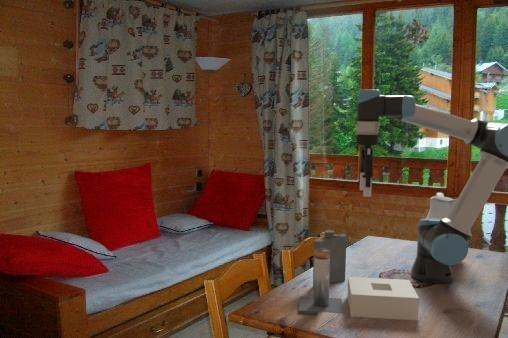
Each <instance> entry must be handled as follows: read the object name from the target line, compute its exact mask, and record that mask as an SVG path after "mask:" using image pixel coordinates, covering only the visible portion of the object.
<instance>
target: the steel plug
mask: <svg viewBox="0 0 508 338" xmlns="http://www.w3.org/2000/svg"><path fill="white" fill-rule="evenodd" d="M313 263H314V288H313V297H314V298H313V304H314V305H315V306H317V307H327V306H329V298H330V284H329V278H330V249H327V248H316V249H315V250H314V249H313Z"/></svg>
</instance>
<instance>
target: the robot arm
mask: <svg viewBox="0 0 508 338" xmlns="http://www.w3.org/2000/svg"><path fill="white" fill-rule="evenodd" d="M357 94H358V95H357V101H356V104H357V106H356V108H357V109H356V114H357V115H356V124H354V127H355V128H356V133H357V134H356V137H355V138H356V139H355V142H356V143H355V144H356V145H357V146H361V147H360V161H359V171H360V173H359V191H362V197H364V198H365V197H369V198H370V197H372V189H373V187H372V184H373V176H374V173H373V172H374V170H373V169H374V168H373V164H374V163H373V156H374V150H373V148H372V146H377V145H378V144H379V135H378V134H379V130H380V129H379V128H380V117H381V118H384V117H385V118H391V119H394V120H397V121H401V122H403V123H404V122H405V123H408V124H410V125H414V126H418V127H420V128H424V129H427V130H431V131H434V132H437V133H440V134H444V135H447V136H450V137H453V138H457V139H460V140H463V142H464V143H465V144H466V145H470V146H472V147H475V148H478V149H480V150H479V154H480V159H479V161H478V163H477V165H476V167H475V168H474V170H473V171H472V173H471V175H470V177H469V179H468V180H467V182H466V184H465V185H464V187H463V189H462V191H461V192H460V194H459V195H458V196H457V198H456V199H457V201H456V202H455V204H454V206H453V208H452V209H451V211H450V213H449V215H448V216H447V217H446V218H442V219H433V218H420V219H419V220H418V225H417V246H416V257H415V260H414V262H413V264H412V266H411V270H410V272H411V273H410V276H411V277H412V278H413V279H415V280H417V281H420V282H424V283H430V284H447V283H451V282H452V281H453V277H454V273H453V270H452V267H451V266H454V265H458V264H460V263H462V262H463V261H465V259H466V257H467V256H468V253H469V245H468V244H469V242H470V240H471V238H472V237H473V234H472V231H471V228H472V226H473V225H474V224H475V221H476V220H477V218H478V217H479V215H480V213H481V211H482V210H483V208H484V207H485V205H486V204H487V201H488V199H489V198H490V196H491V195H492V193H493V191H494V189H495V188H496V186H497V184H498V182H499V181H500V179H501V177H502V176H503V174H504V172H505V171H506V170H507V169H508V122H501V121H500V122H499V121H486V120H481V119H480V120H479V119H477V118H474V119H471V120H470V119H468V118H467V119H466V118H463V117H461V116H460V117H459V116H458V115H454V114H451V113H447V112H444V111H440V110H438V109H433V108H431V107H428V106H425V105H424V106H423V105H420V104H418V103H416V98H415V97H414V96H413V95H406V94H402V95H399V94H398V95H397V94H392V95H383V94H381V90H380V89H377V88H375V89H374V88H371V89H370V88H369V89H359V91H358V93H357Z"/></svg>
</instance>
